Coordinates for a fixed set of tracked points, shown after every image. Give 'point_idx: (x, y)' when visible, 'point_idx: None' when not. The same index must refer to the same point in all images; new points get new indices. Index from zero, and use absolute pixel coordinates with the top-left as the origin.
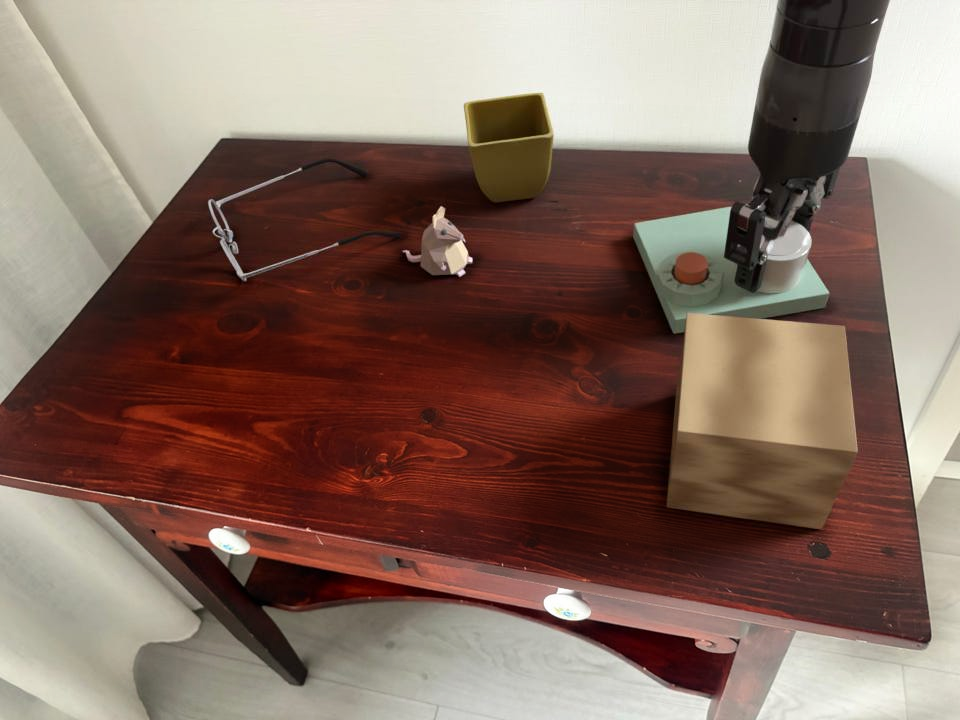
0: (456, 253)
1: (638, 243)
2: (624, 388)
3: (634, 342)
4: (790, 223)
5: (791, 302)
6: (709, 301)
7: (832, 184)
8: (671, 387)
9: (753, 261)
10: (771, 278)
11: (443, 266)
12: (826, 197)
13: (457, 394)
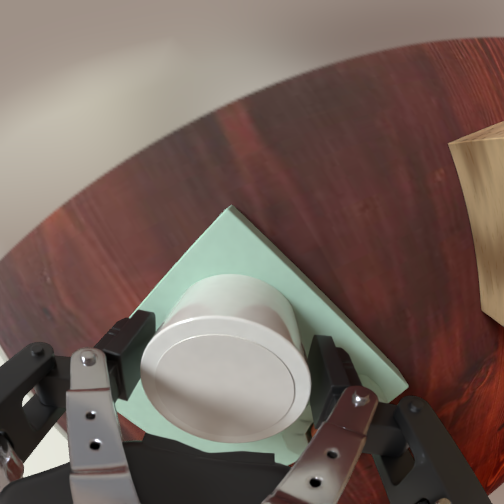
0: None
1: None
2: (479, 356)
3: (421, 390)
4: (152, 380)
5: (286, 263)
6: (362, 376)
7: (21, 364)
8: (472, 320)
9: (420, 412)
10: (299, 332)
11: None
12: (50, 351)
13: (488, 430)
